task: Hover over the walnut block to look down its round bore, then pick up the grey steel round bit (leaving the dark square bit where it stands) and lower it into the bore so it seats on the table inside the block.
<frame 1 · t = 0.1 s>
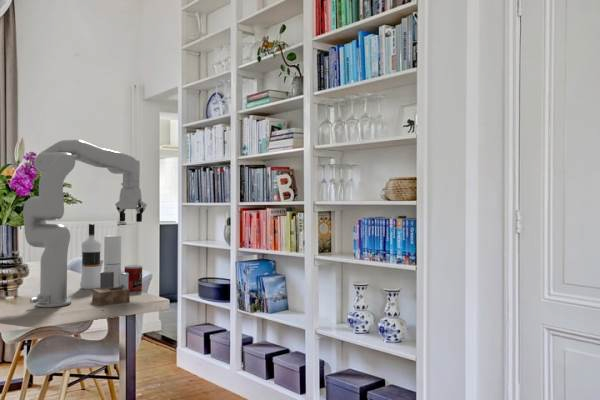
hand: (130, 221, 250), 31 cm above the table, tool pointing down, fingers open, 9 cm apart
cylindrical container: (112, 291, 238), on the table
square bit: (106, 295, 228), on the table
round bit: (123, 296, 226), on the table
vodka: (90, 288, 247), on the table
bore block: (110, 301, 215), on the table
canned food: (133, 290, 243), on the table
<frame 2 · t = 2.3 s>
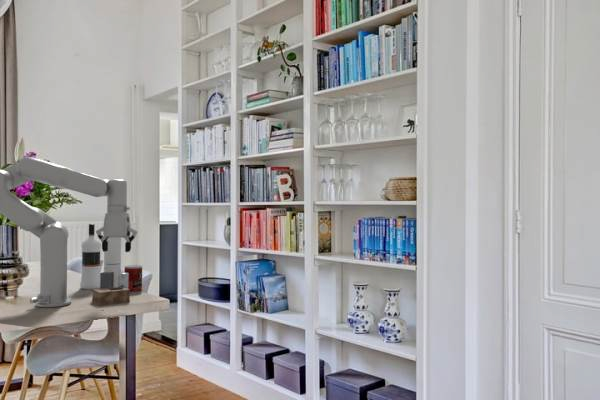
hand: (116, 251, 216), 20 cm above the table, tool pointing down, fingers open, 9 cm apart
nothing on the table moved.
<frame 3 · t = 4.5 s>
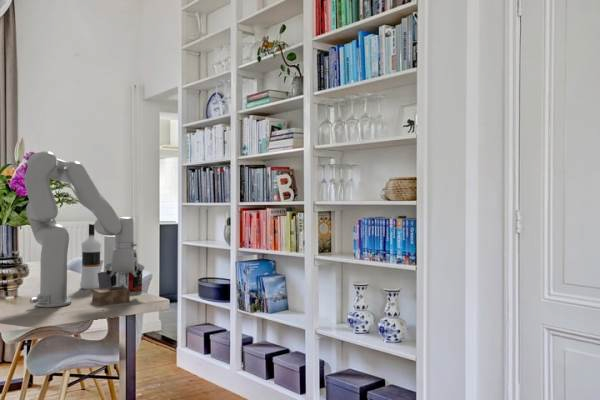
hand: (124, 285, 227), 5 cm above the table, tool pointing down, fingers open, 9 cm apart
square bit: (106, 295, 228), on the table, tilted 8°
everything else where it was.
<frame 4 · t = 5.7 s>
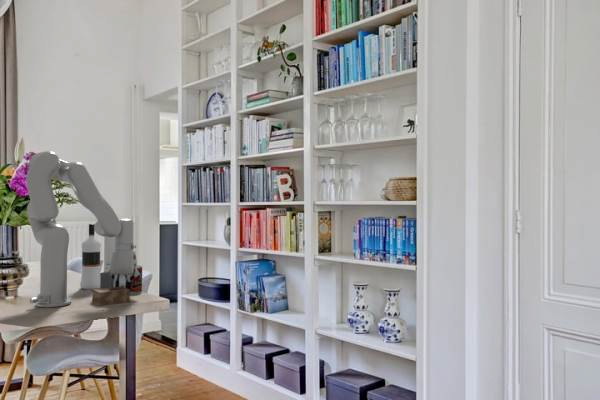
hand: (123, 290, 226), 3 cm above the table, tool pointing down, fingers closed on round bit, 4 cm apart
square bit: (106, 295, 228), on the table
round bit: (123, 296, 226), on the table, touching gripper
everything else where it was.
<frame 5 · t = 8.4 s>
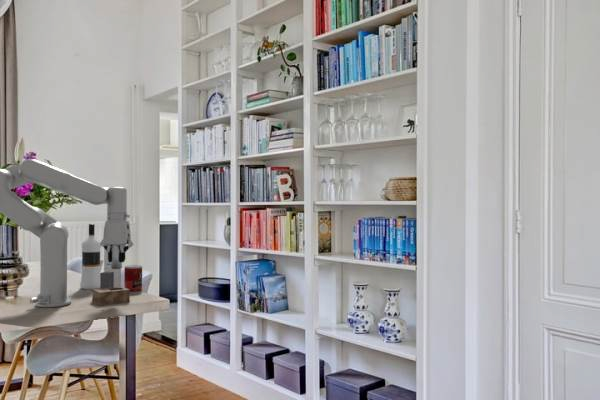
hand: (116, 261, 216), 16 cm above the table, tool pointing down, fingers closed on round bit, 4 cm apart
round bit: (116, 268, 216), point 13 cm above the table, touching gripper
everything else where it was.
when the fingers open (6 cm above the table, at t = 10.9 s): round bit drops 3 cm, resting in bore block.
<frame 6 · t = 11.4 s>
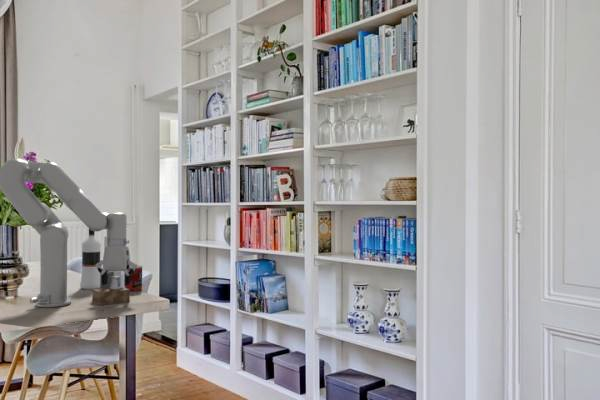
hand: (116, 284, 216), 7 cm above the table, tool pointing down, fingers open, 9 cm apart
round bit: (115, 301, 216), resting in bore block
everything else where it was.
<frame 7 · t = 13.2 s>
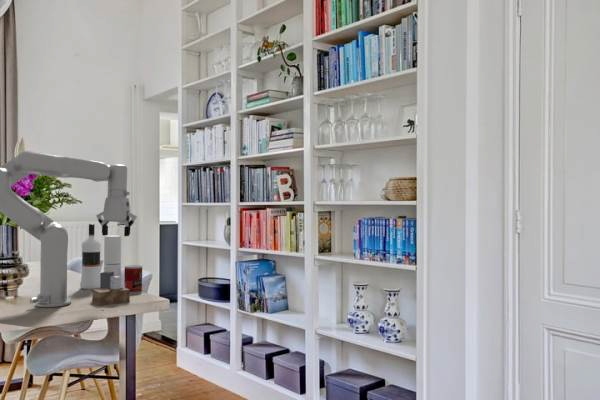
hand: (115, 235, 219), 27 cm above the table, tool pointing down, fingers open, 9 cm apart
nothing on the table moved.
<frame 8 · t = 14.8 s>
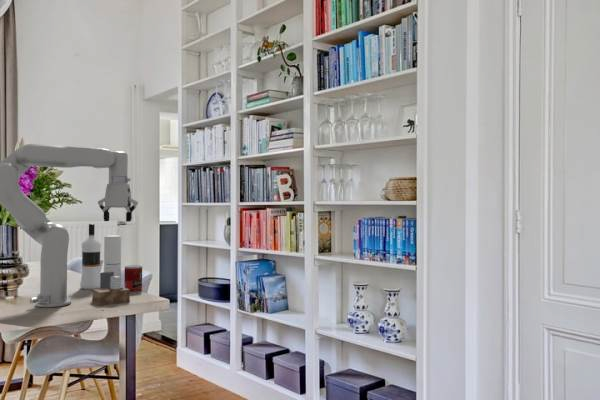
hand: (117, 221, 224), 32 cm above the table, tool pointing down, fingers open, 9 cm apart
nothing on the table moved.
at the end: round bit 0.1 cm from the target spot on the bore block, point 0.0 cm above the bore block's base; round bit tilted 0°; the gripper is holding nothing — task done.
